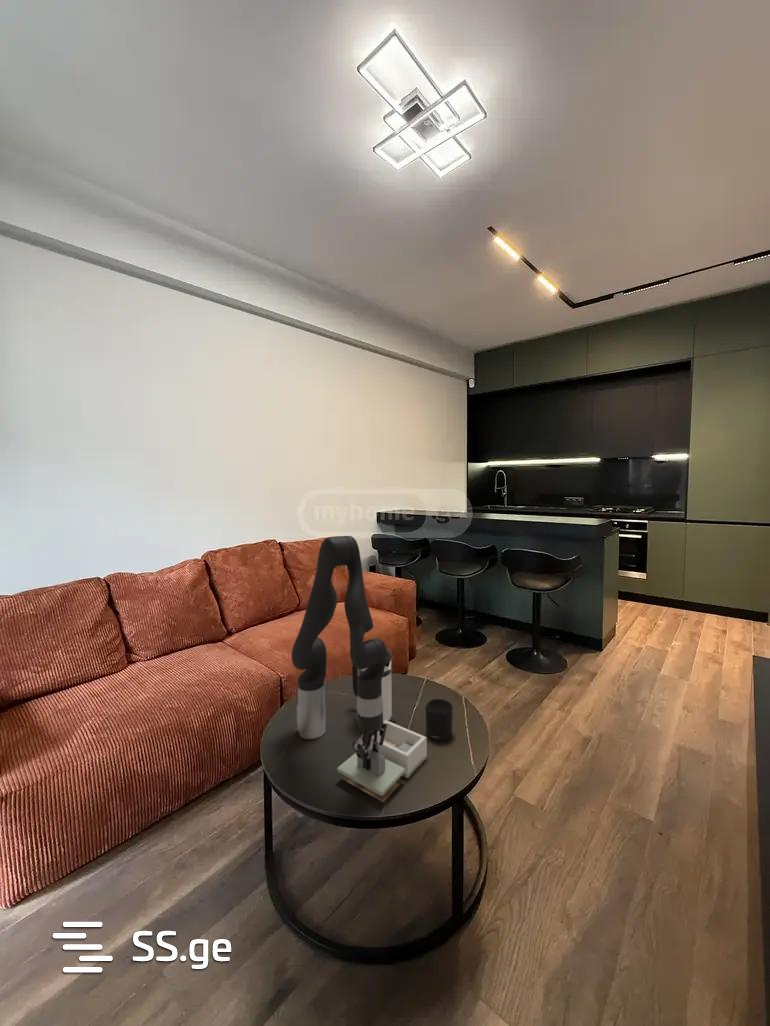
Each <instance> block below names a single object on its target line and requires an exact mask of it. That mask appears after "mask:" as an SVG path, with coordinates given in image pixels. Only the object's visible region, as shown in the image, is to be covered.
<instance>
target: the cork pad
mask: <svg viewBox="0 0 770 1026" xmlns="http://www.w3.org/2000/svg"><path fill="white" fill-rule="evenodd" d="M342 780H343V781H345V782H347V783H348V784H350V785H352V786H354V787H355V788H357V789H359V790H361V791H362V792H364V793H366V794H367V795H370V796H371V797H373V798H375V799H377V800H378V801H380V802H382V803H384V802H385V801H386V800H387V799H388V798H389V796H391V795H392V793H394V792H395V790H396V789H397V788H398V787H399V786H400V785H401V784H400V782H398V781H396V782H395V783H394V784H393V785H392V786H391V787H390V788H389V789H388V790H387V791H386V792H385V793H384V794H383V795H382V796H381V795H379V794H377V793H376V792H374V791H372V790H370V789H368V788H367V787H365V786H363V785H361V784H359V783H358V782H356V781H354V780H352V779H350V778H349V777H347V776H345V775H344V776H343V777H342Z"/></svg>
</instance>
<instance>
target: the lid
mask: <svg viewBox="0 0 770 1026" xmlns="http://www.w3.org/2000/svg"><path fill="white" fill-rule="evenodd" d="M365 752H366V753H367V750H365ZM370 757H371V769H370V770H366V769H365V768H363V759H361V758H358V757H357V755H356V753H355V752H354V753H353V754H352V755H351V756H350V757H349V758H347V759H346V760H345V761H343V763H342V764H340V765H339V766H338V767H337V770H336V772H337V773H340V774H341V775H344V776H347V777H349V778H350V779H352V780H354V781H356V782H358V783H359V784H361V785H363V786H365V787H367V788H368V789H370V790H372V791H374V792H376V793H377V794H379V795H381V796H382V795H383V794H384V793H385V792H386V791H387V790H388V789H389V788H390V787H391V786H392V785H393V784H394V783H395V782H398V780H399V779H400V778H401V777H403V776H402V775H403V774H404V773H405V768H403V767H401V766H399V765H397V764H395V763H393V762H391V761H389V760H387V759H385V756H384V755H382V754H380V753H378V752H375V751H373V750H371V754H370Z"/></svg>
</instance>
